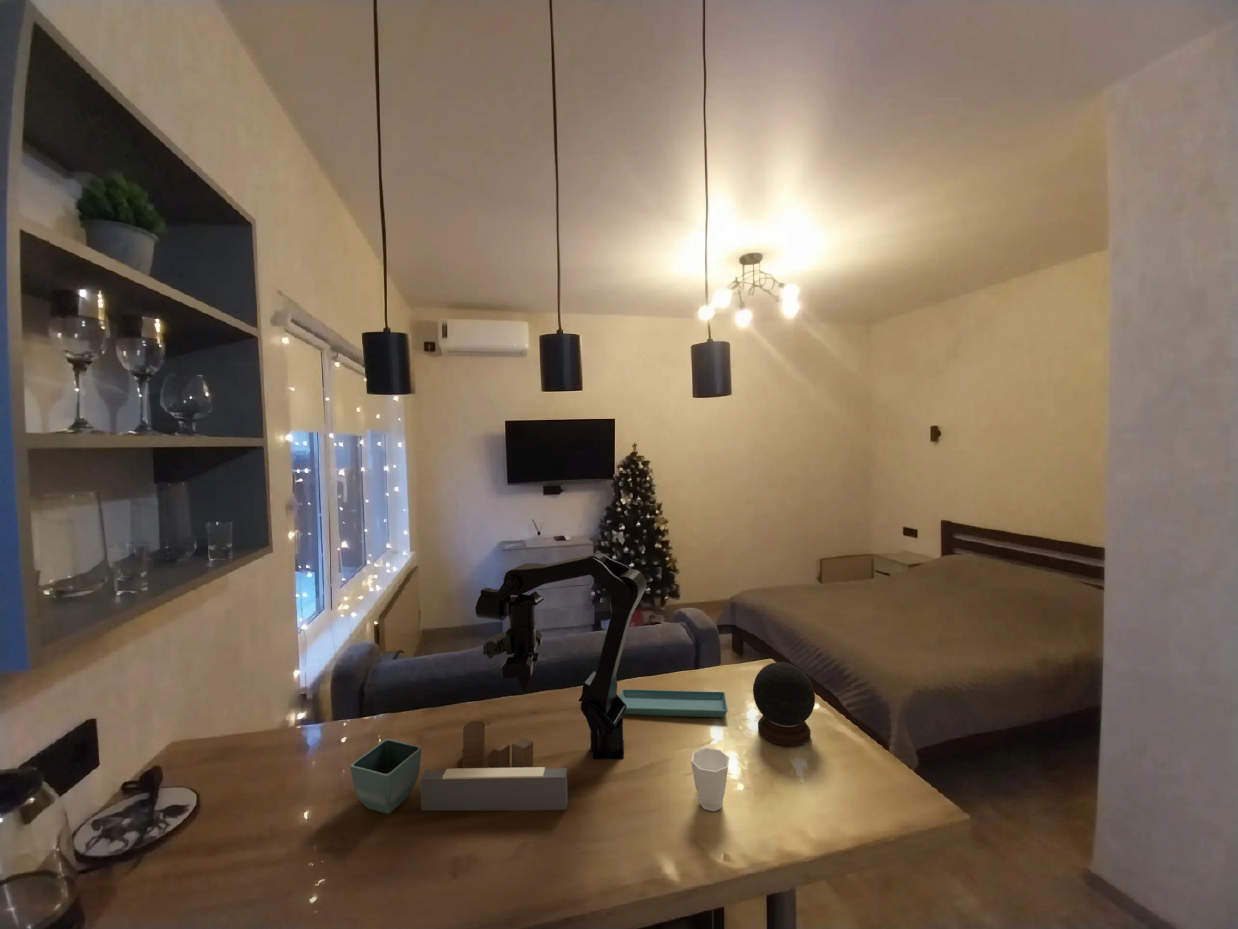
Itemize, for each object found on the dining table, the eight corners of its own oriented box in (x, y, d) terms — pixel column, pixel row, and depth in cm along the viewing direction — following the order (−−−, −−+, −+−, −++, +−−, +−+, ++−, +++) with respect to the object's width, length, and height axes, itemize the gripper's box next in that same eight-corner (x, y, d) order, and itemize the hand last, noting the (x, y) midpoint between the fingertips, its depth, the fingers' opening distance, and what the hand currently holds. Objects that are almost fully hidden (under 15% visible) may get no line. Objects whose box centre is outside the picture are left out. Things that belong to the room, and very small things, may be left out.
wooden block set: (539, 776, 98) (539, 723, 99) (510, 801, 91) (510, 744, 91) (472, 753, 107) (472, 704, 107) (440, 774, 99) (440, 721, 100)
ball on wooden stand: (743, 733, 111) (742, 667, 110) (768, 708, 121) (767, 647, 120) (802, 756, 102) (801, 684, 102) (824, 727, 112) (823, 662, 112)
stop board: (567, 800, 91) (566, 766, 91) (566, 810, 89) (565, 775, 89) (426, 802, 92) (425, 769, 92) (421, 812, 89) (419, 777, 89)
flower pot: (425, 792, 95) (423, 746, 94) (389, 826, 86) (387, 775, 86) (388, 782, 98) (386, 738, 97) (350, 815, 89) (348, 766, 89)
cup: (696, 818, 86) (695, 773, 86) (683, 780, 96) (683, 739, 96) (736, 815, 87) (735, 770, 87) (719, 777, 97) (718, 736, 97)
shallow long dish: (617, 716, 120) (617, 706, 120) (621, 697, 129) (621, 687, 129) (728, 721, 117) (728, 711, 117) (725, 701, 126) (724, 691, 126)
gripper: (495, 609, 121) (497, 672, 121) (474, 639, 102) (477, 714, 103) (541, 607, 121) (543, 671, 122) (529, 638, 102) (531, 712, 103)
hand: (524, 690), depth 112 cm, fingers closed
